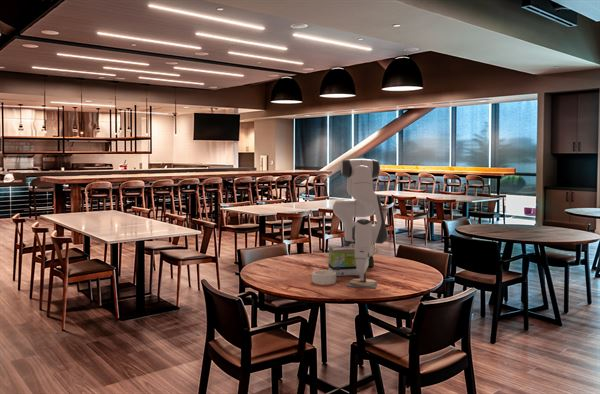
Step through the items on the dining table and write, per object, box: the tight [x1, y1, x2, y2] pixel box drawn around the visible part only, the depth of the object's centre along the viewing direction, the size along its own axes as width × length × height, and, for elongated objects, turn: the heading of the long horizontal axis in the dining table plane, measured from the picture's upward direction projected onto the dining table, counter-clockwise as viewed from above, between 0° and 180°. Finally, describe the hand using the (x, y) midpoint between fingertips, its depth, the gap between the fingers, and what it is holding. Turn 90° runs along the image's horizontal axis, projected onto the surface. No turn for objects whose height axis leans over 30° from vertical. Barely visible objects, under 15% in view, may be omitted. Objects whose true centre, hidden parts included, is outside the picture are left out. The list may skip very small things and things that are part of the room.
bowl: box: [311, 269, 337, 286], centre depth 264 cm, size 12×12×5 cm
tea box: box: [327, 246, 360, 277], centre depth 281 cm, size 15×10×15 cm
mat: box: [346, 278, 379, 289], centre depth 259 cm, size 14×14×1 cm
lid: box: [349, 272, 377, 286], centre depth 259 cm, size 13×13×5 cm
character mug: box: [368, 243, 379, 267], centre depth 301 cm, size 11×7×13 cm, turn 79°
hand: (362, 278), depth 259 cm, fingers open, 7 cm apart
